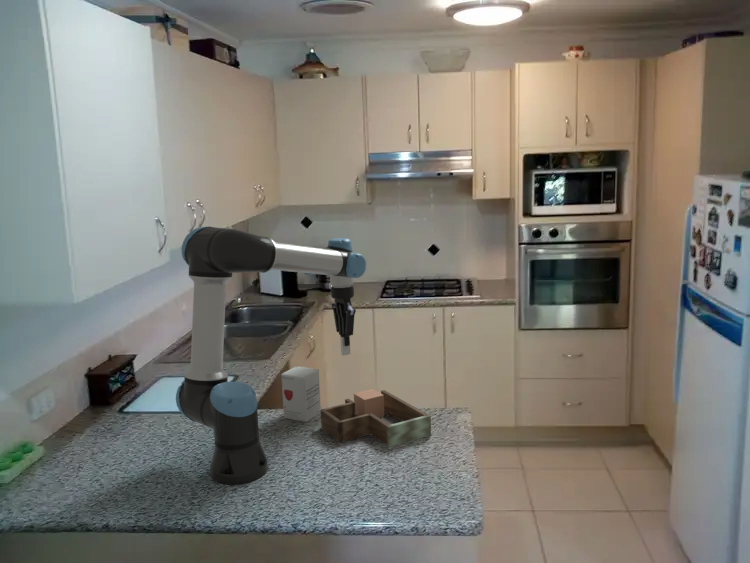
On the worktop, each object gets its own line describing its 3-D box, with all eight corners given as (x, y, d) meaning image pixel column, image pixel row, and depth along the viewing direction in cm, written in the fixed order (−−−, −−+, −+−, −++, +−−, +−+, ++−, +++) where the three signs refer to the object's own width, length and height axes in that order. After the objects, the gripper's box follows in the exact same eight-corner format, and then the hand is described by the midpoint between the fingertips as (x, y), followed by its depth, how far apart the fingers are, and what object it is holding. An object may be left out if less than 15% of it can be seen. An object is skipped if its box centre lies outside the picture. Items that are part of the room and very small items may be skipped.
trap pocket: (339, 442, 197) (338, 422, 196) (321, 428, 208) (320, 409, 207) (372, 433, 203) (371, 414, 202) (352, 420, 213) (351, 402, 212)
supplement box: (282, 418, 217) (279, 373, 214) (298, 408, 225) (295, 365, 222) (306, 422, 213) (303, 377, 210) (321, 412, 220) (319, 368, 218)
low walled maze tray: (389, 447, 193) (388, 427, 192) (345, 417, 216) (345, 399, 215) (431, 435, 200) (430, 415, 199) (384, 407, 223) (384, 389, 222)
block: (365, 421, 213) (364, 399, 211) (354, 414, 218) (353, 393, 217) (384, 416, 216) (383, 395, 215) (373, 409, 222) (372, 388, 221)
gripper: (361, 286, 219) (365, 357, 223) (343, 280, 230) (346, 347, 234) (341, 290, 215) (344, 361, 220) (323, 283, 226) (327, 351, 231)
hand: (345, 354), depth 227 cm, fingers closed
